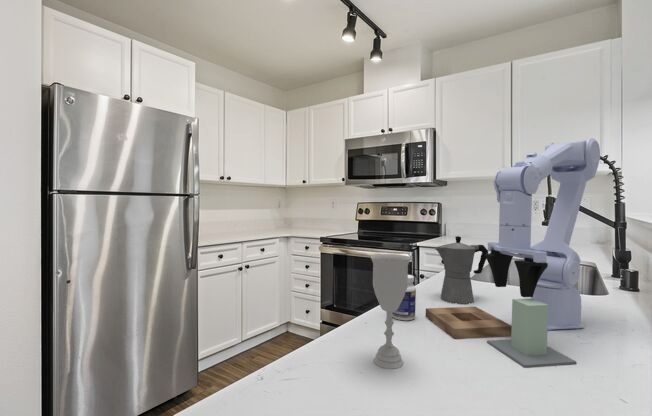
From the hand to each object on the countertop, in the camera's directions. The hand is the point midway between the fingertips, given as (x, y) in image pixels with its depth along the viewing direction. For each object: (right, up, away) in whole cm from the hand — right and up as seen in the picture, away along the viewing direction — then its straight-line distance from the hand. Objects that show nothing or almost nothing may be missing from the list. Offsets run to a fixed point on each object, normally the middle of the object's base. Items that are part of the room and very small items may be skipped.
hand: (513, 291), depth 69 cm
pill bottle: (-20, -9, +11) cm, 25 cm away
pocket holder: (-7, -9, +6) cm, 13 cm away
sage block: (-1, -9, -7) cm, 12 cm away
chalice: (-28, -10, -11) cm, 31 cm away
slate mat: (-1, -10, -7) cm, 12 cm away
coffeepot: (0, -9, +26) cm, 28 cm away
